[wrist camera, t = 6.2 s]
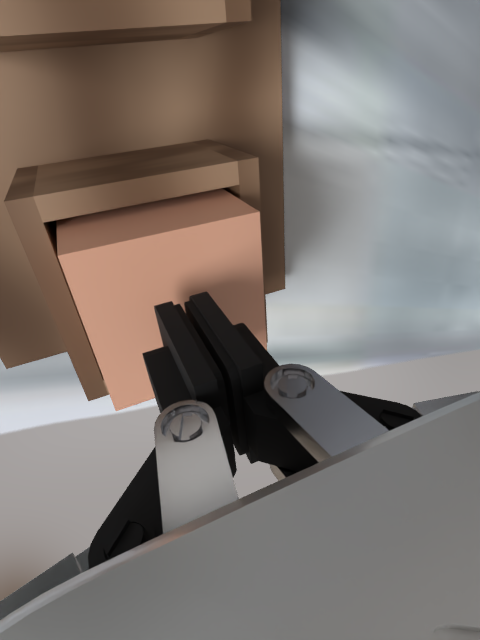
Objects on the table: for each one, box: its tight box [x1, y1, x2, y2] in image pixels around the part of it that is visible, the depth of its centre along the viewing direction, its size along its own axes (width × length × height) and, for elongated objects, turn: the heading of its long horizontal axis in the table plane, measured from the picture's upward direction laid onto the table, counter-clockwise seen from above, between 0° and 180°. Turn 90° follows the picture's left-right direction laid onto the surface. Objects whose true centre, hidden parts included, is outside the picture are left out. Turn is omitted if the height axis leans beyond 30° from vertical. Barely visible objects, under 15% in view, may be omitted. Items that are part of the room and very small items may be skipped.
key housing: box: [0, 0, 285, 401], centre depth 14 cm, size 16×22×7 cm
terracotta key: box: [56, 188, 267, 411], centre depth 15 cm, size 6×6×5 cm
